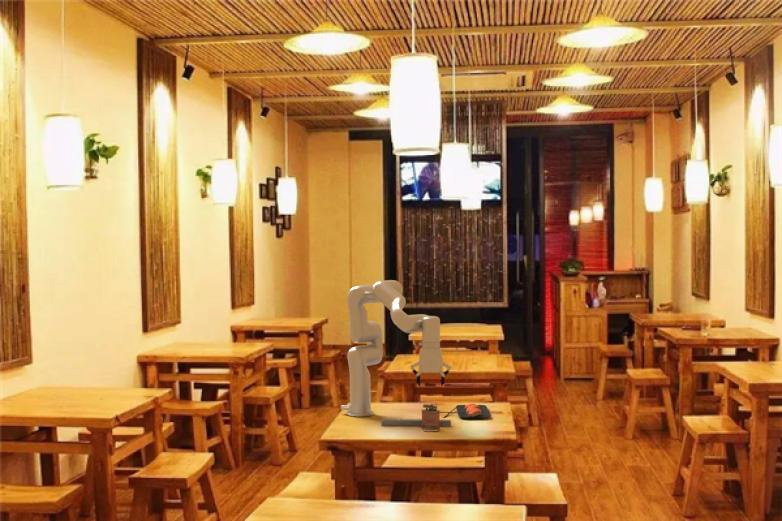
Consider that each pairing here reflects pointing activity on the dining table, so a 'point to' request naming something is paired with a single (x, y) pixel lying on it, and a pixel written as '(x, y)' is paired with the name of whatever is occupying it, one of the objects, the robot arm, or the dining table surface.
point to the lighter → (430, 417)
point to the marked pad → (431, 430)
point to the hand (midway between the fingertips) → (430, 385)
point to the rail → (409, 422)
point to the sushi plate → (471, 411)
